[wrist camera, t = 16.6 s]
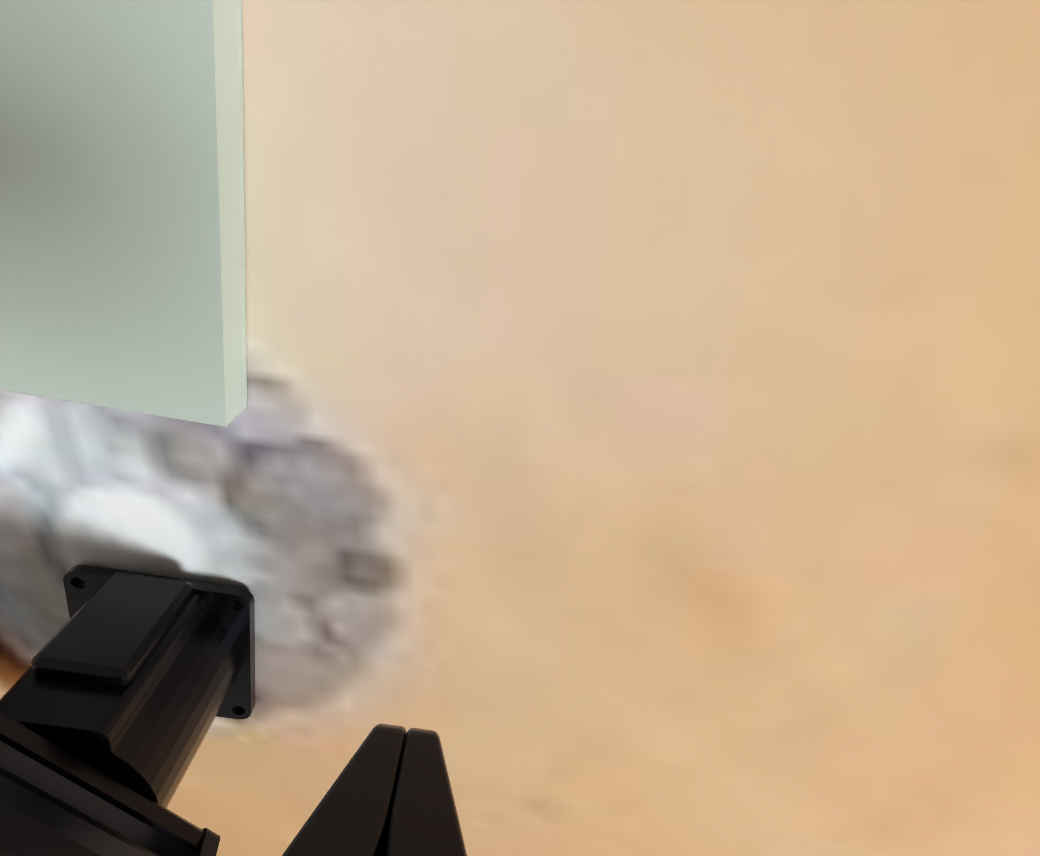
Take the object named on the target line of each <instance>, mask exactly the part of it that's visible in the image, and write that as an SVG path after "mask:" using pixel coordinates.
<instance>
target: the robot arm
mask: <svg viewBox="0 0 1040 856" xmlns="http://www.w3.org/2000/svg"><path fill="white" fill-rule="evenodd" d="M63 581H64V587H65V593H66V598H67V604H68V609H69V615H70V620H69V621H68V622H67V623H66V624H65V625H64V626H63V627H62V628H61V629H60V630H59V631H58V632H57V634H56V635H55V636H54V637H53V638H52V639H51V640H50V641H49V642H48V643H47V644H46V645H45V646H44V647H43V648H42V649H41V650H40V652H39V653H38V654H37V655H36V656H35V657H34V658H33V660H32V662H31V663H32V666H31V667H30V668H29V669H28V670H27V671H26V672H25V673H24V674H23V675H22V676H21V678H20V679H19V680H18V681H17V682H16V683H15V684H14V685H13V686H12V687H11V688H10V689H9V690H8V691H7V693H6V694H5V695H4V696H3V697H2V698H1V699H0V856H216V853H217V849H218V845H219V841H220V836H219V835H217V834H216V833H214V832H212V831H211V830H209V829H207V828H204V829H200V828H198V827H197V826H195V825H193V824H192V823H190V822H188V821H187V820H185V819H183V818H181V817H180V816H178V815H176V814H175V813H173V812H171V811H170V810H168V809H166V808H167V806H168V804H169V802H170V801H171V799H172V797H173V795H174V793H175V791H176V789H177V788H178V786H179V784H180V782H181V780H182V778H183V776H184V774H185V773H186V771H187V769H188V767H189V765H190V763H191V761H192V760H193V758H194V756H195V754H196V752H197V750H198V748H199V746H200V745H201V743H202V741H203V739H204V737H205V735H206V733H207V732H208V730H209V728H210V726H211V724H212V722H213V720H214V718H215V717H216V716H218V717H226V718H234V719H246V718H248V717H249V716H250V715H251V713H252V711H253V709H254V706H255V631H254V597H253V595H252V594H251V593H250V592H249V591H248V590H246V589H244V588H240V587H234V586H227V585H220V584H213V583H206V582H199V581H192V580H185V579H179V578H172V577H165V576H158V575H151V574H144V573H137V572H130V571H123V570H117V569H110V568H103V567H96V566H89V565H76V566H74V567H73V568H72V569H71V570H70V571H69V572H68V573H67V574H66V575H65V576H64V580H63ZM235 600H237V601H239V602H241V603H238V602H236V601H235ZM282 856H467V854H466V850H465V845H464V841H463V837H462V832H461V828H460V824H459V820H458V815H457V811H456V807H455V802H454V798H453V794H452V789H451V785H450V781H449V777H448V772H447V768H446V764H445V759H444V755H443V751H442V746H441V742H440V738H439V736H438V734H437V732H435V731H432V730H425V729H417V728H411V729H409V730H408V732H407V734H406V729H405V728H404V727H402V726H395V725H387V724H378V725H376V726H375V727H374V728H373V729H372V731H371V732H370V733H369V735H368V736H367V738H366V739H365V740H364V742H363V743H362V745H361V746H360V747H359V749H358V750H357V752H356V753H355V754H354V756H353V757H352V759H351V760H350V761H349V763H348V764H347V766H346V767H345V768H344V770H343V771H342V773H341V774H340V775H339V777H338V778H337V780H336V781H335V782H334V784H333V785H332V787H331V788H330V789H329V791H328V792H327V794H326V795H325V796H324V798H323V799H322V801H321V802H320V803H319V805H318V806H317V808H316V809H315V810H314V812H313V813H312V815H311V816H310V817H309V819H308V820H307V822H306V823H305V824H304V826H303V827H302V829H301V830H300V831H299V833H298V834H297V836H296V837H295V838H294V840H293V841H292V843H291V844H290V845H289V847H288V848H287V850H286V851H285V852H284V854H283V855H282Z"/></svg>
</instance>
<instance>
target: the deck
mask: <svg viewBox="0 0 1040 856" xmlns="http://www.w3.org/2000/svg"><path fill="white" fill-rule="evenodd" d="M0 390H3V391H9V392H15V393H21V394H27V395H34V396H40V397H46V398H52V399H58V400H64V401H70V402H77V403H83V404H89V405H95V406H101V407H107V408H113V409H120V410H126V411H132V412H138V413H144V414H150V415H156V416H163V417H169V418H175V419H181V420H187V421H193V422H199V423H206V424H212V425H218V426H224V427H226V426H227V425H228V424H229V423H230V422H231V421H232V420H233V419H234V418H235V417H236V416H237V415H239V414H240V413H241V412H242V411H243V410H244V409H245V408H246V407H247V373H246V299H245V226H244V153H243V80H242V6H241V0H0Z"/></svg>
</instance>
